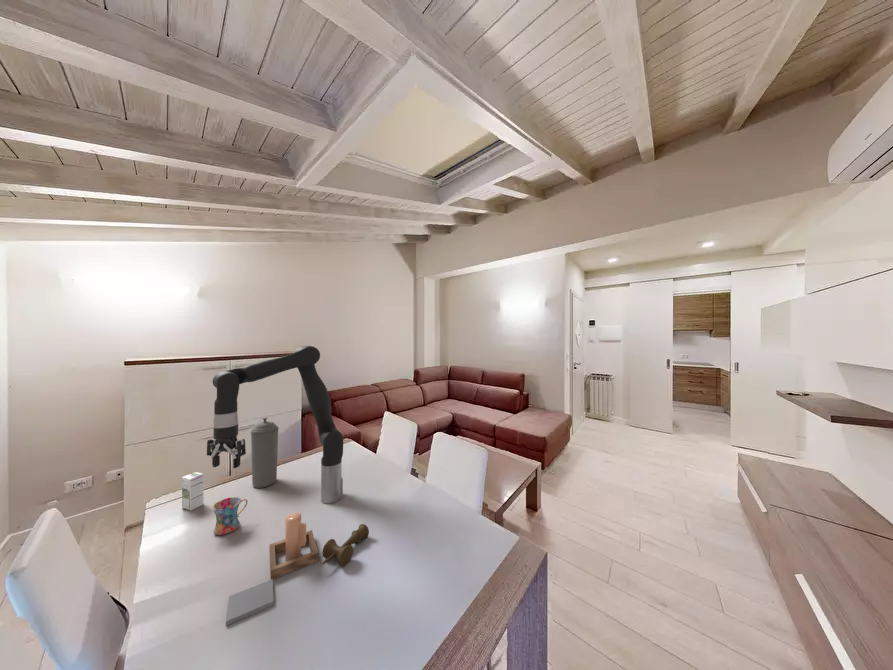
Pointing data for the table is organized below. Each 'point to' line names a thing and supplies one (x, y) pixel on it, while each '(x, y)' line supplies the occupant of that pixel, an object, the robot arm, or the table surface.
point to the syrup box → (192, 491)
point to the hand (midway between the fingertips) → (226, 466)
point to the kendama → (344, 546)
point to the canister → (264, 453)
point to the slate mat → (250, 601)
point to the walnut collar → (294, 563)
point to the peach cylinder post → (294, 536)
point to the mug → (227, 515)
